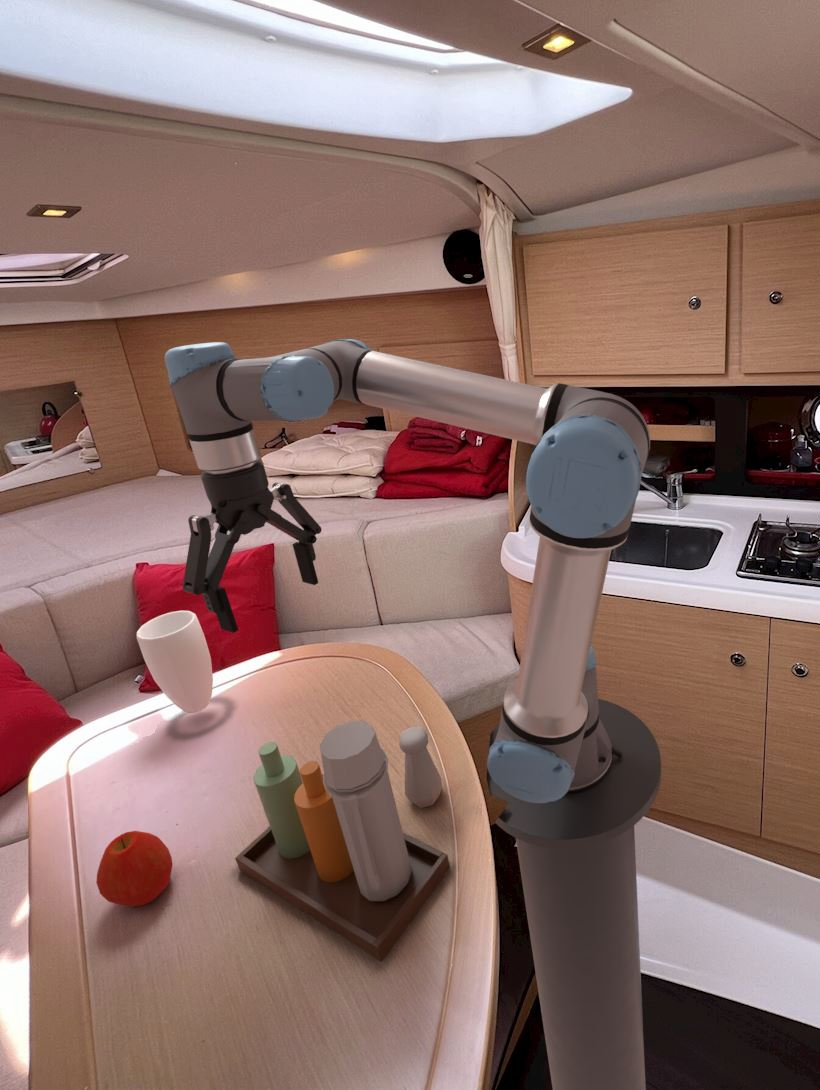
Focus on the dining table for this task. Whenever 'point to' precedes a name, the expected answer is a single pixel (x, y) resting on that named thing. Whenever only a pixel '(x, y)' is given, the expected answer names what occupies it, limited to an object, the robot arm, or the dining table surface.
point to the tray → (346, 892)
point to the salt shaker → (419, 768)
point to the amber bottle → (322, 825)
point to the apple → (134, 869)
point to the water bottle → (366, 809)
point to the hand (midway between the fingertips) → (272, 604)
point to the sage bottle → (281, 799)
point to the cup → (178, 659)
